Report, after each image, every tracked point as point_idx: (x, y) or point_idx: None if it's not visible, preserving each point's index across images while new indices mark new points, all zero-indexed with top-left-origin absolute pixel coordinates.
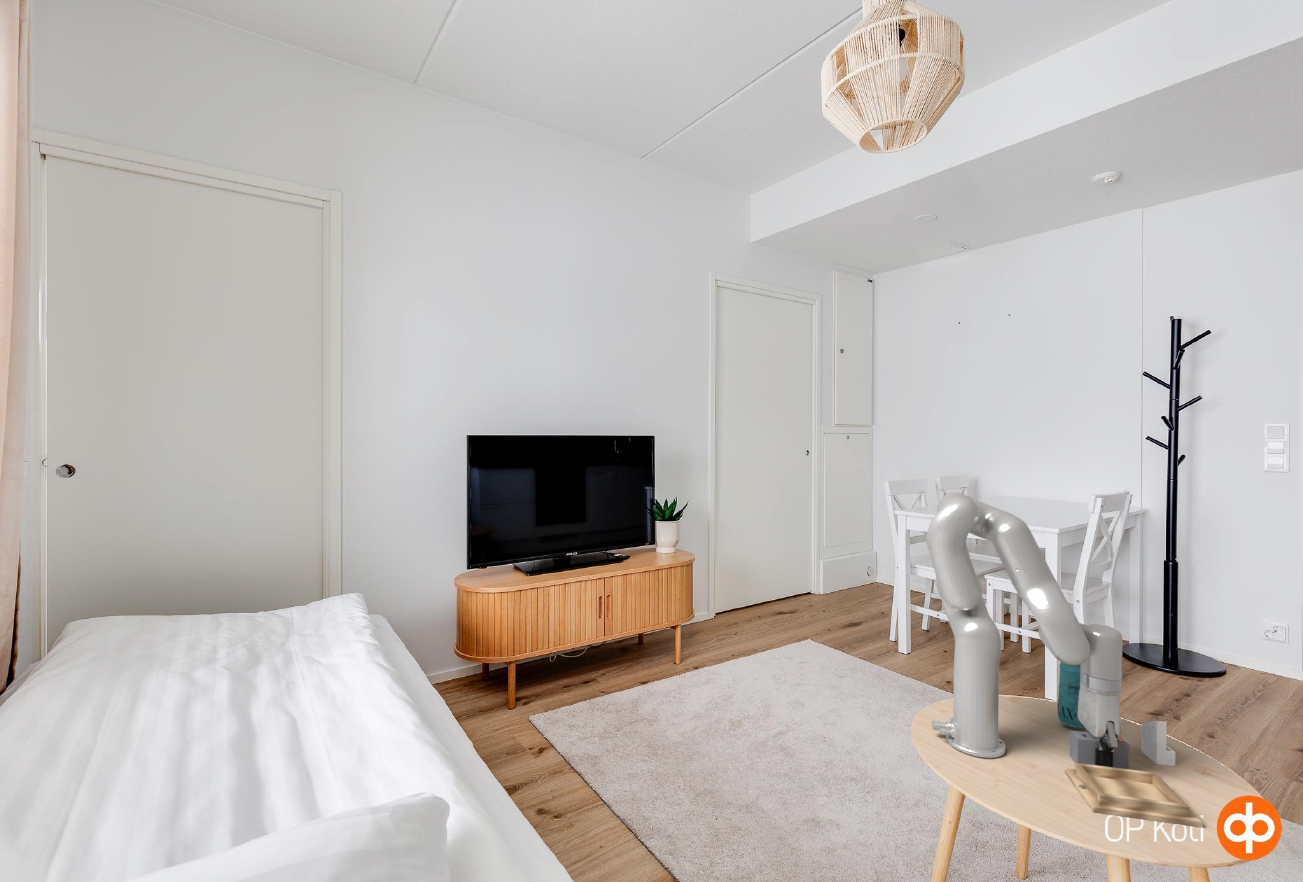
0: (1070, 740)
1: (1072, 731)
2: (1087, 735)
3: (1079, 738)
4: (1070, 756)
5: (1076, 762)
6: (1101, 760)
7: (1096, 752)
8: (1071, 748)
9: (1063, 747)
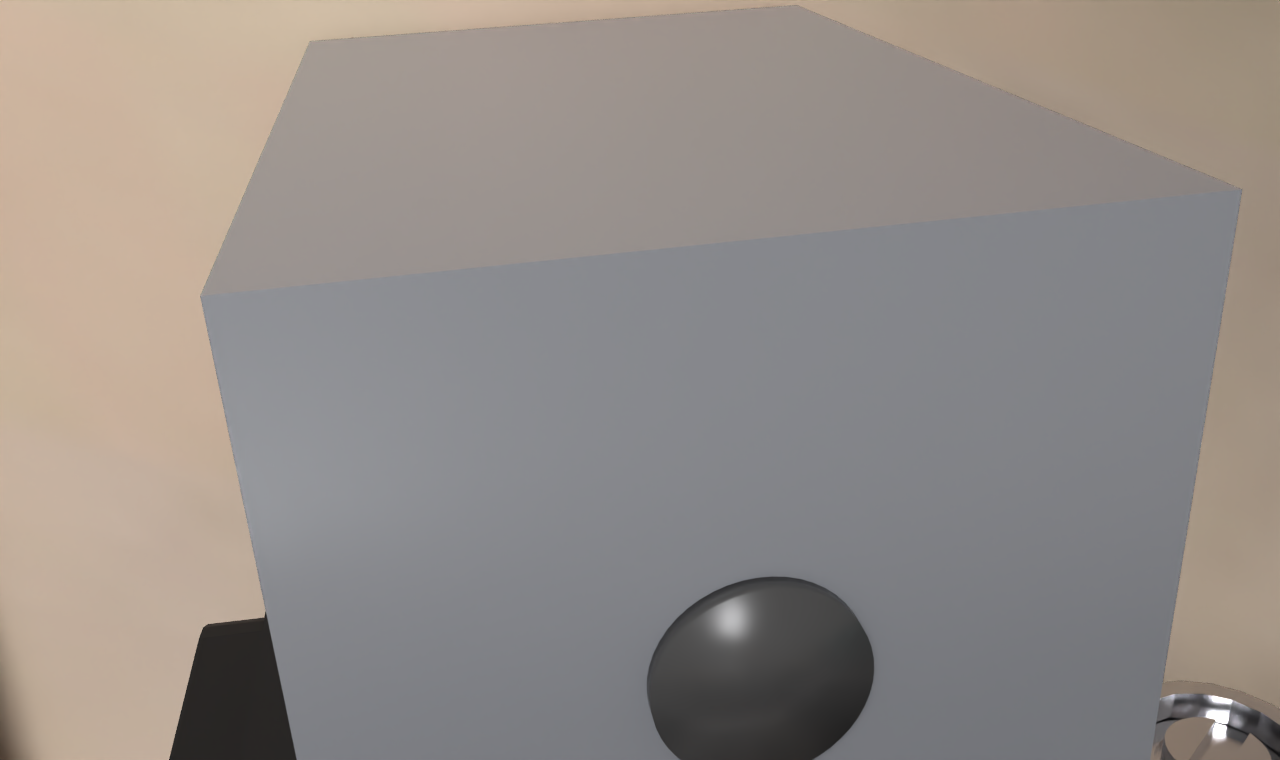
0: (944, 91)
1: (1124, 274)
2: None
3: (326, 399)
4: (741, 9)
5: (375, 43)
6: (210, 670)
7: (253, 696)
8: (769, 56)
9: (1220, 6)
